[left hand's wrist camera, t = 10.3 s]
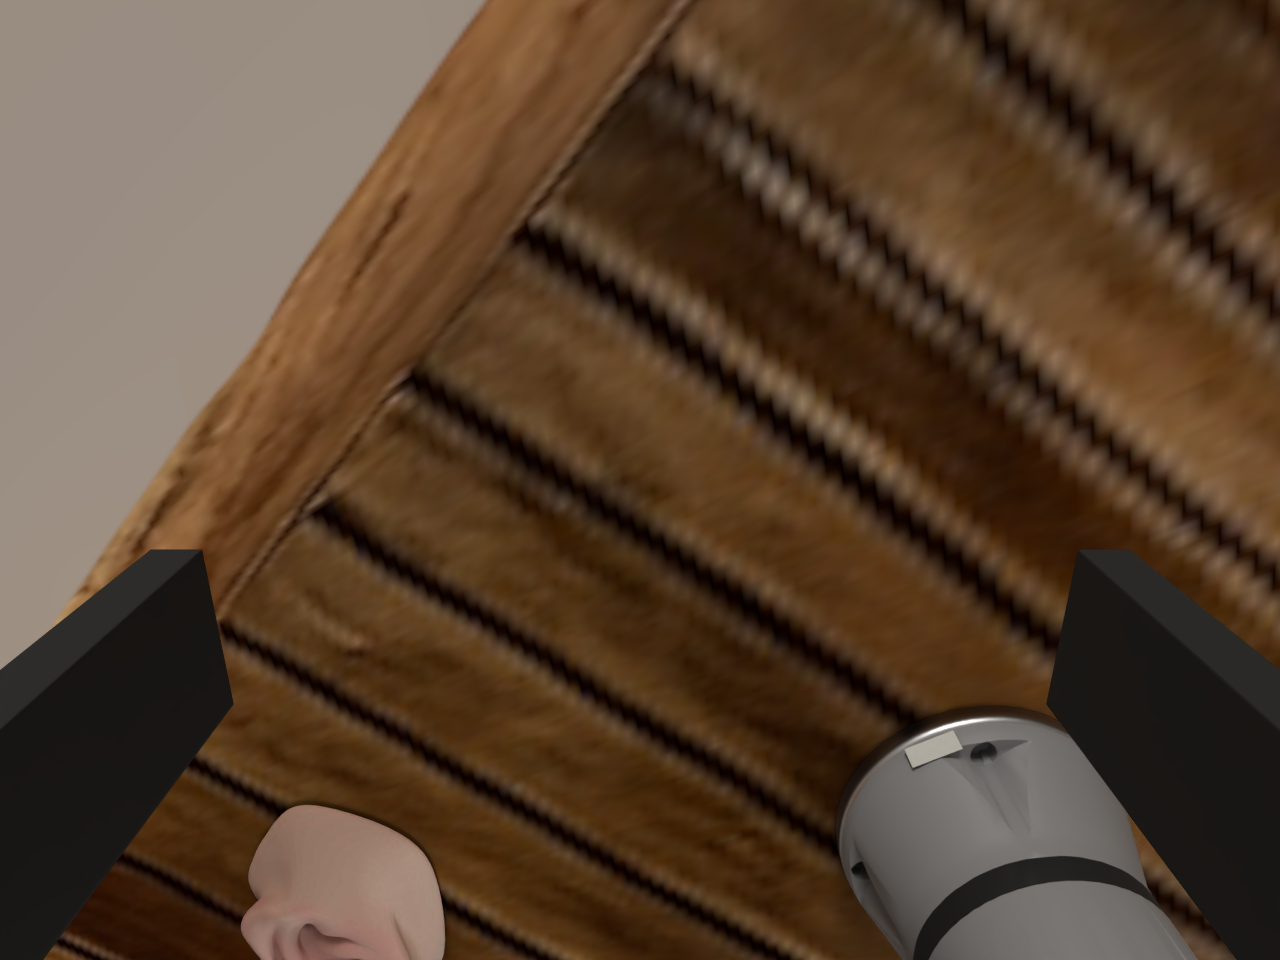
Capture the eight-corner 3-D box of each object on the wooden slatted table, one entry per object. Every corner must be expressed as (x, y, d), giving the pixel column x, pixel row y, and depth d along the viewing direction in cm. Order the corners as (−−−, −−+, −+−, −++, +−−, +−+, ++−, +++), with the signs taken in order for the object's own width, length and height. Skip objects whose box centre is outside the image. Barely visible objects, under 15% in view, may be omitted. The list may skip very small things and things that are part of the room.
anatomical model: (212, 851, 43) (438, 874, 44) (246, 796, 47) (454, 818, 47) (223, 1031, 48) (426, 1050, 48) (253, 968, 51) (442, 986, 52)
